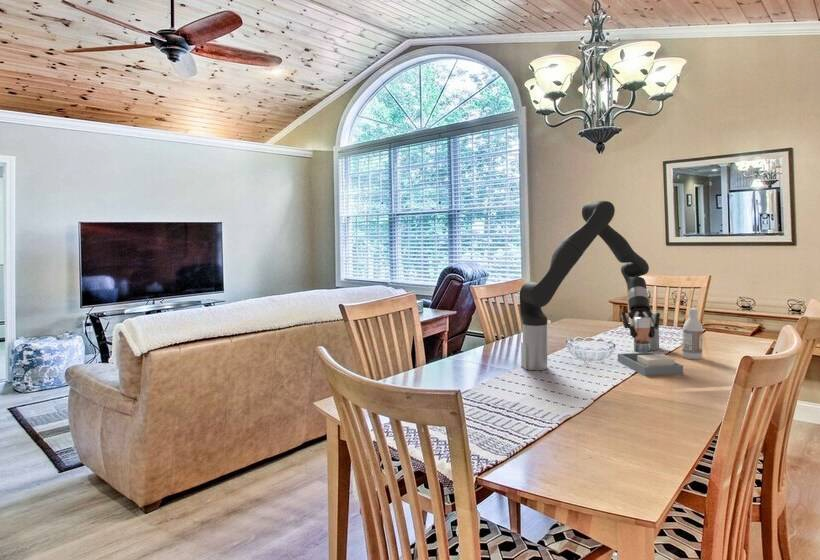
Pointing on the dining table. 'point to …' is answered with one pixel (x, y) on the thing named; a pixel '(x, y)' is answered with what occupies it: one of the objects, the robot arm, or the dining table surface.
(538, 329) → the robot arm
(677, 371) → the tray
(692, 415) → the dining table surface
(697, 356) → the bath foam
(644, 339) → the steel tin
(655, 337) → the skincare box
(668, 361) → the egg box
